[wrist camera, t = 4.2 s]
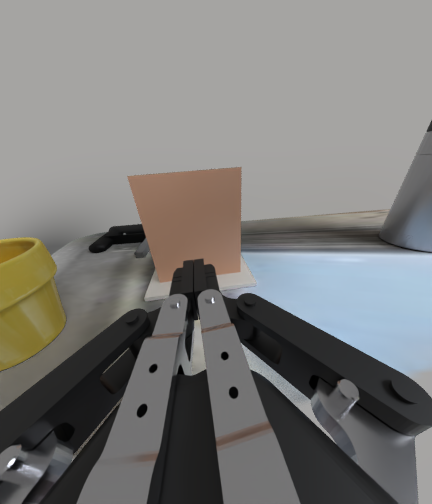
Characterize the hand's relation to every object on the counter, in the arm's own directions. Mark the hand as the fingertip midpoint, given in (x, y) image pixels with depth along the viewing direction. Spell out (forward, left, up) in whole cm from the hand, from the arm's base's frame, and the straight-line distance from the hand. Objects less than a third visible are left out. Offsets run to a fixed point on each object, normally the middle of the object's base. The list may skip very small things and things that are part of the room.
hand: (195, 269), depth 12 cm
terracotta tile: (0, -10, -7) cm, 12 cm away
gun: (+14, -27, -9) cm, 32 cm away
